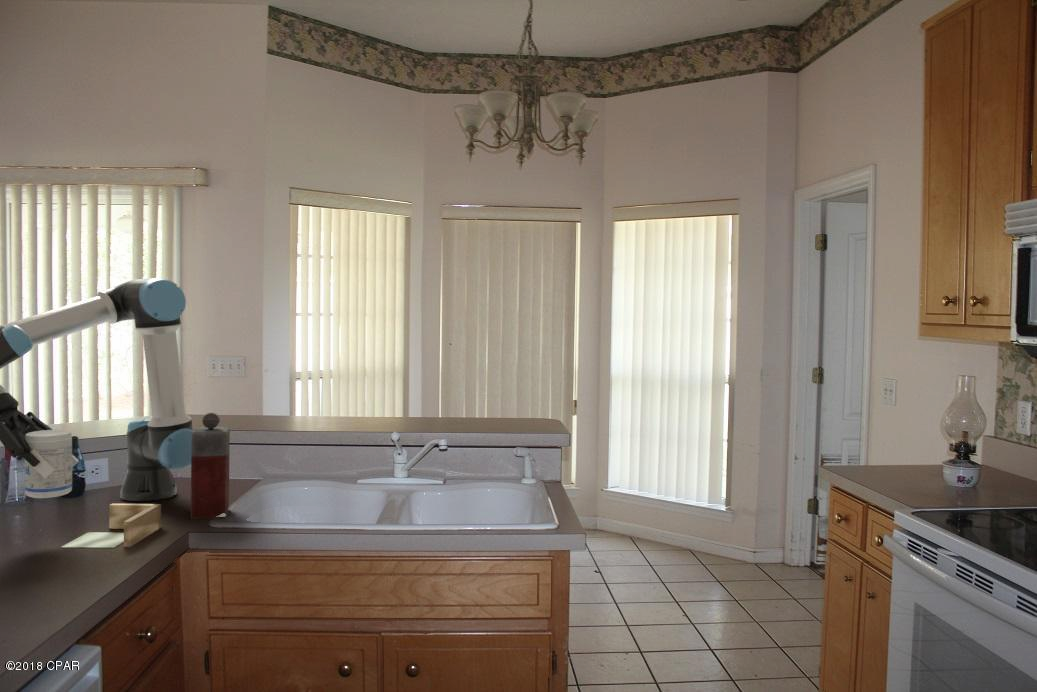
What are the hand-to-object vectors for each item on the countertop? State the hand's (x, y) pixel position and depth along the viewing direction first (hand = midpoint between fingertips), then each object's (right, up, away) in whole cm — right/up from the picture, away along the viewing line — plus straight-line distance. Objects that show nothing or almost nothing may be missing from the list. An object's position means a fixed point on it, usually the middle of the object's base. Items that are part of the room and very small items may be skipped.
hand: (62, 469), depth 179 cm
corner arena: (+9, -17, +5) cm, 20 cm away
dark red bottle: (+23, -17, +30) cm, 41 cm away
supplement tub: (-3, -6, 0) cm, 7 cm away
